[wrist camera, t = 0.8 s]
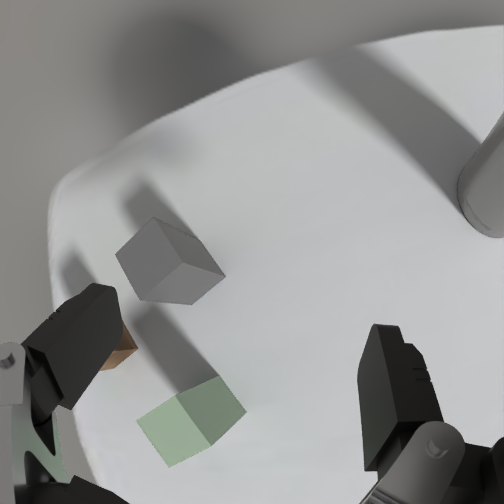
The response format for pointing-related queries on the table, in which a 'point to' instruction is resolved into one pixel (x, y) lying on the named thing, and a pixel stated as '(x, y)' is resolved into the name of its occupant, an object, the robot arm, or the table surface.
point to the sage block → (191, 420)
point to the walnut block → (121, 350)
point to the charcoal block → (168, 265)
